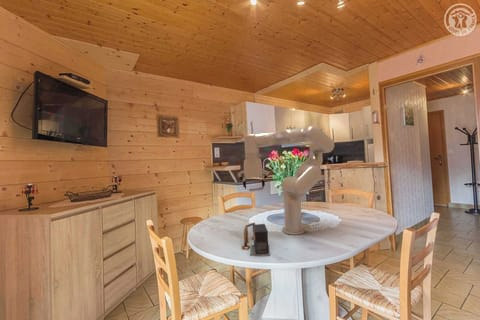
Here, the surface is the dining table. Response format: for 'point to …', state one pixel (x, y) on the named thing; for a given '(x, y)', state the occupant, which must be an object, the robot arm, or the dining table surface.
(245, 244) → the bent rod
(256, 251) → the small box
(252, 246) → the rubber pad
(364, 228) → the dining table surface
